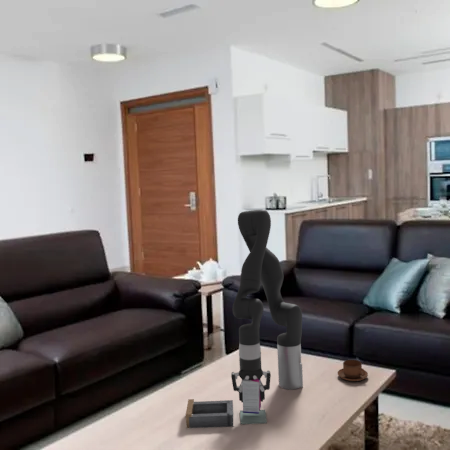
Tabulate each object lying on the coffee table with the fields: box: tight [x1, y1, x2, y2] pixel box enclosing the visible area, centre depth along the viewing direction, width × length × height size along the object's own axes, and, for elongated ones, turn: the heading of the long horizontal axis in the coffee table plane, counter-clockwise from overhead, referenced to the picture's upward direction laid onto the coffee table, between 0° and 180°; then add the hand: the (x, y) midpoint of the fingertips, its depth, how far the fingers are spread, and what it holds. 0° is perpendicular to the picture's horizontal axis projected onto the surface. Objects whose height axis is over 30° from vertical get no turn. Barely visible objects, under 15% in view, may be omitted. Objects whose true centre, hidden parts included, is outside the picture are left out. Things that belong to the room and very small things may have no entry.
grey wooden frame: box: [185, 398, 234, 429], centre depth 184 cm, size 16×12×5 cm
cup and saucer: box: [337, 359, 369, 382], centre depth 214 cm, size 12×12×6 cm
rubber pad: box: [239, 409, 268, 425], centre depth 184 cm, size 9×9×1 cm
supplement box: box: [241, 379, 262, 414], centre depth 183 cm, size 6×6×12 cm
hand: (252, 400), depth 184 cm, fingers closed on supplement box, 6 cm apart
